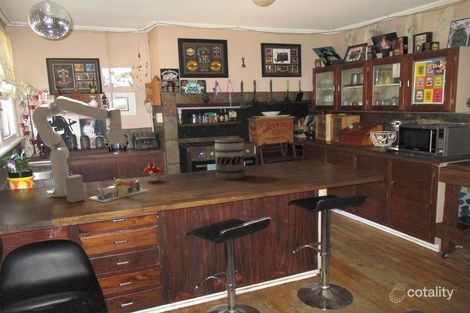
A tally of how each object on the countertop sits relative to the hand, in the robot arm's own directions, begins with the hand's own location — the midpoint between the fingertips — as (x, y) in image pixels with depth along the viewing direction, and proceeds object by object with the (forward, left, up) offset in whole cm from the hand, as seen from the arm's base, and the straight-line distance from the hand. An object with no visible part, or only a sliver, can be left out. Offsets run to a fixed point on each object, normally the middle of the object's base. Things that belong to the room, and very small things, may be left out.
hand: (117, 152), depth 245 cm
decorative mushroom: (+31, +4, -27) cm, 41 cm away
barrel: (+74, -38, -27) cm, 88 cm away
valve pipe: (-9, -11, -27) cm, 30 cm away
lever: (-9, -18, -19) cm, 28 cm away
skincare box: (-33, 0, -27) cm, 42 cm away
